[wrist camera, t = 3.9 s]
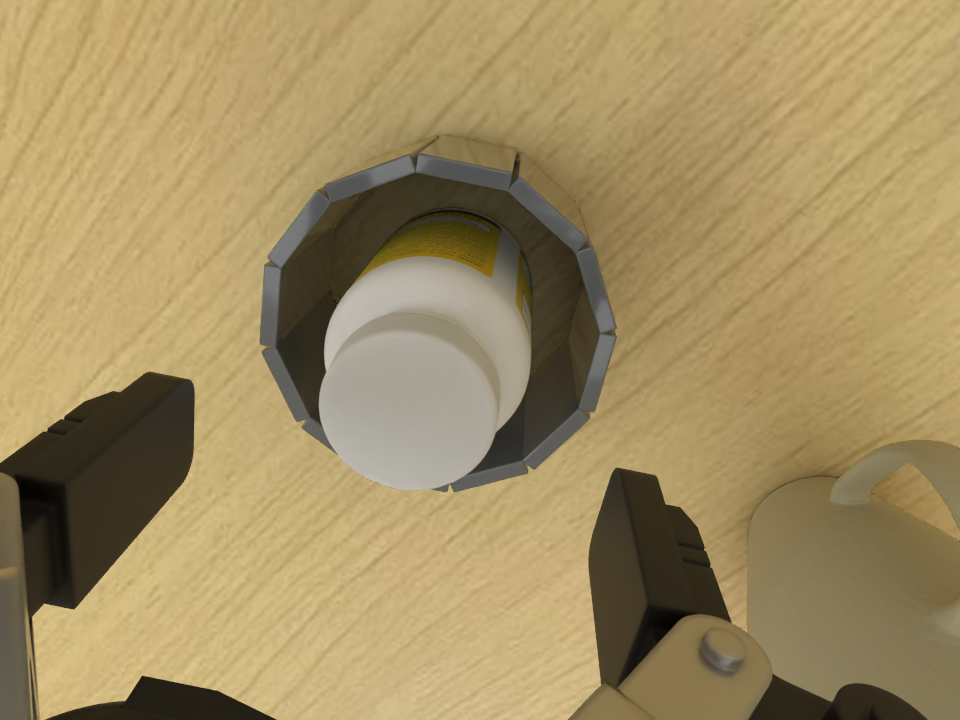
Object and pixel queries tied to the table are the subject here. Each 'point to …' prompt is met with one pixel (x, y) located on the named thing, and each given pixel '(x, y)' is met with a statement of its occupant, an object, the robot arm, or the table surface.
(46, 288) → the table surface
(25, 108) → the table surface
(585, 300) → the grey ring
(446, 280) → the supplement bottle
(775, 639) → the mug
